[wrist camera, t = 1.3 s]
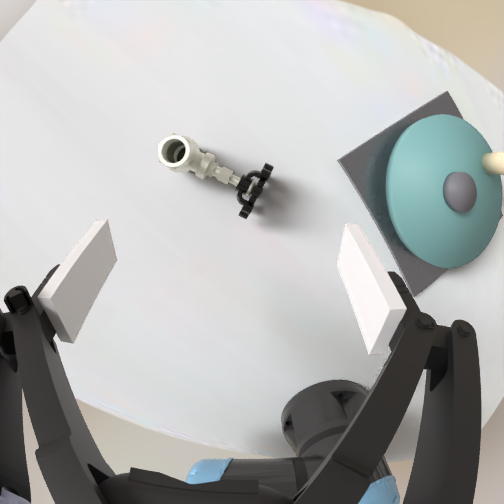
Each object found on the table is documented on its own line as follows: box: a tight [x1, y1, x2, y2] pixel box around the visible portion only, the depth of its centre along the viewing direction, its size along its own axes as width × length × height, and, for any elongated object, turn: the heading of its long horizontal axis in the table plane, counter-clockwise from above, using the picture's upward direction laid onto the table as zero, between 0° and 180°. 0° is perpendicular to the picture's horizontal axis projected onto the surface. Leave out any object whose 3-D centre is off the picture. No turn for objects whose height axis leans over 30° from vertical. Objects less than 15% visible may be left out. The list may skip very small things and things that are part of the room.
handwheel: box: [386, 114, 504, 268], centre depth 29 cm, size 20×20×7 cm
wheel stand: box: [337, 91, 503, 297], centre depth 34 cm, size 22×22×3 cm
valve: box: [158, 133, 274, 219], centre depth 32 cm, size 7×7×12 cm
